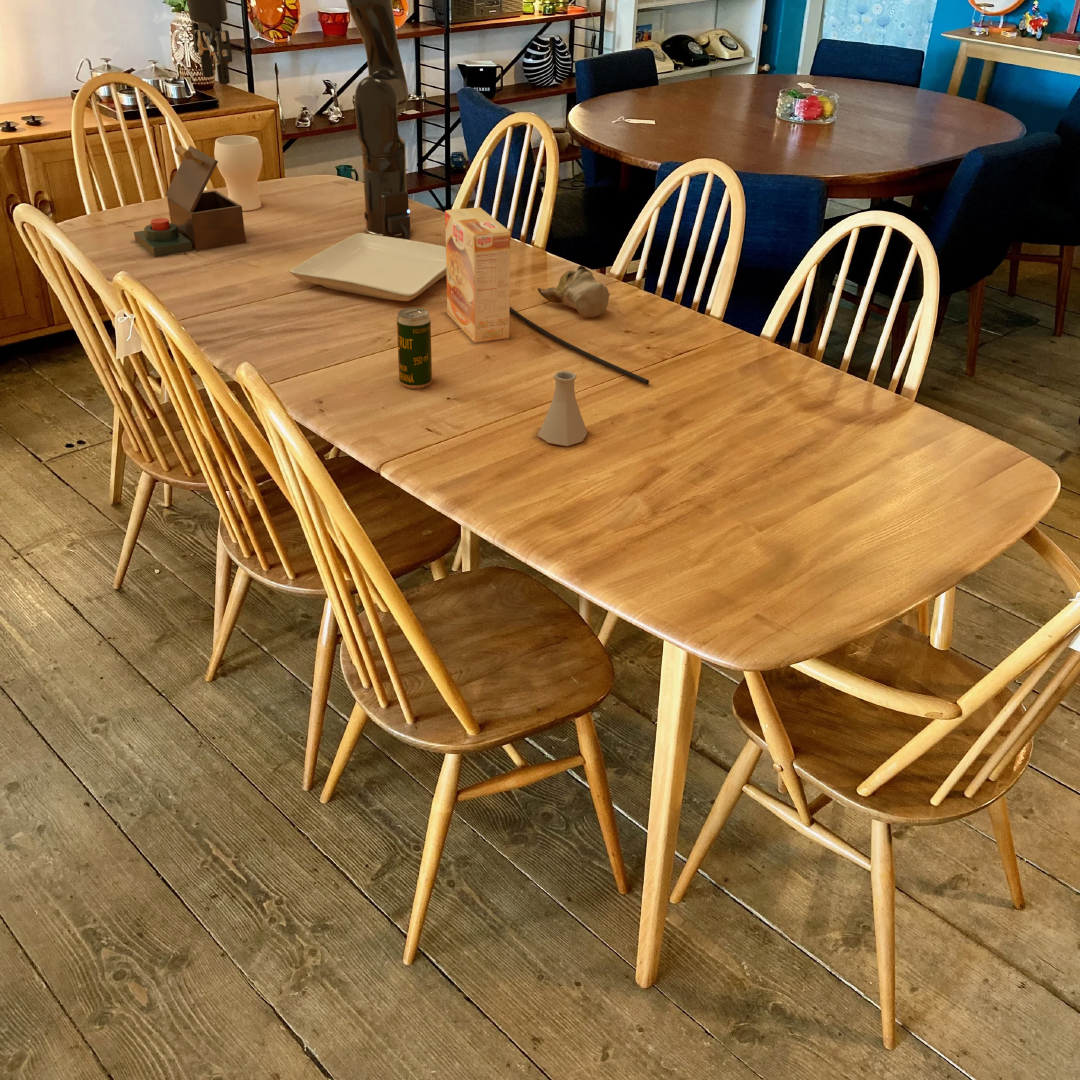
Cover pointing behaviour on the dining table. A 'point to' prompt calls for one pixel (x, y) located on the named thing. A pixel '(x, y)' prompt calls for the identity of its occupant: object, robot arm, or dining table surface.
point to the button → (160, 224)
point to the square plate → (376, 266)
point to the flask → (563, 414)
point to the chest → (209, 221)
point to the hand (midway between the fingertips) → (216, 80)
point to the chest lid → (191, 177)
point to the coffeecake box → (478, 273)
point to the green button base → (163, 241)
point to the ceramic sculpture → (579, 292)
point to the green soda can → (414, 348)
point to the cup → (240, 168)
